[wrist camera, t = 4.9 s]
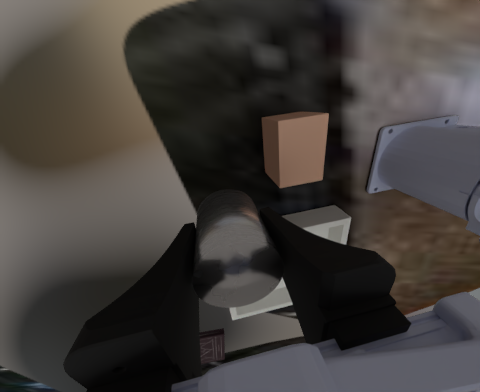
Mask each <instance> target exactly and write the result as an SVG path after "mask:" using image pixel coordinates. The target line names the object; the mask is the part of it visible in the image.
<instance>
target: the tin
mask: <svg viewBox="0 0 480 392" xmlns="http://www.w3.org/2000/svg"><path fill="white" fill-rule="evenodd" d="M283 273H284V264H283V261H282V258H281V256H280V254H279V252H278V250H277V248H276V246H275V244H274V242H273V240H272V238H271V236H270V234H269V232H268V230H267V228H266V226H265V224H264V222H263V220H262V218H261V216H260V214H259V212H258V210H257V208H256V206H255V204H254V202H253V201H252V199H251V198H250V197H249V196H248V195H246V194H245V193H243V192H241V191H238V190H233V189H224V190H219V191H216V192H214V193H212V194H210V195H209V196H207V197H206V198H205V199H204V200H203V201H202V203H201V204H200V206H199V209H198V212H197V224H196V238H195V252H194V266H193V288H194V291H195V293H196V294H197V295H198V297H199V298H200V299H202V300H203V301H205V302H206V303H208V304H211V305H213V306H217V307H224V308H234V307H241V306H246V305H249V304H252V303H255V302H257V301H259V300H261V299H263V298H264V297H266V296H267V295H269V294H270V293H271V292H272V291H273V290H274V289H275V288H276V287H277V286H278V284H279V283H280V281H281V279H282V276H283Z"/></svg>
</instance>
